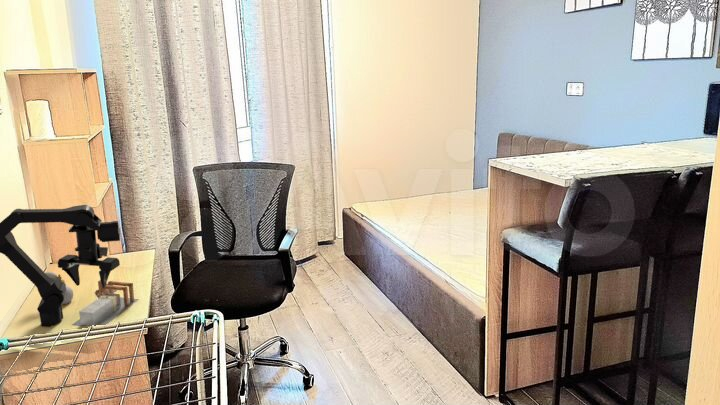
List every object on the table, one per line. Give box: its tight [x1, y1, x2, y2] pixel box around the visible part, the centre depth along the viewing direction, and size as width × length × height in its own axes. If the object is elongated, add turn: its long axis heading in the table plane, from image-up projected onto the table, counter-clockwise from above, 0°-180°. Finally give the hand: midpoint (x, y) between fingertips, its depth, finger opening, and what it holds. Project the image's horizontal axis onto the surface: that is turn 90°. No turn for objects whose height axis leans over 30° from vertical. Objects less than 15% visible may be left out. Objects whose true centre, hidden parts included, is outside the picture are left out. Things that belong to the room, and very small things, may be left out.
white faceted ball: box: [44, 271, 74, 306], centre depth 185 cm, size 8×10×12 cm
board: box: [71, 296, 140, 328], centre depth 181 cm, size 22×11×1 cm, turn 172°
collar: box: [102, 285, 129, 306], centre depth 185 cm, size 1×9×7 cm, turn 82°
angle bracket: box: [107, 280, 135, 302], centre depth 188 cm, size 1×9×7 cm, turn 82°
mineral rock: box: [94, 283, 118, 298], centre depth 196 cm, size 11×4×8 cm
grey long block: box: [78, 292, 121, 327], centre depth 177 cm, size 15×5×5 cm, turn 172°
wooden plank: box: [97, 279, 103, 297], centre depth 188 cm, size 2×1×9 cm, turn 172°
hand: (91, 286), depth 174 cm, fingers open, 9 cm apart
